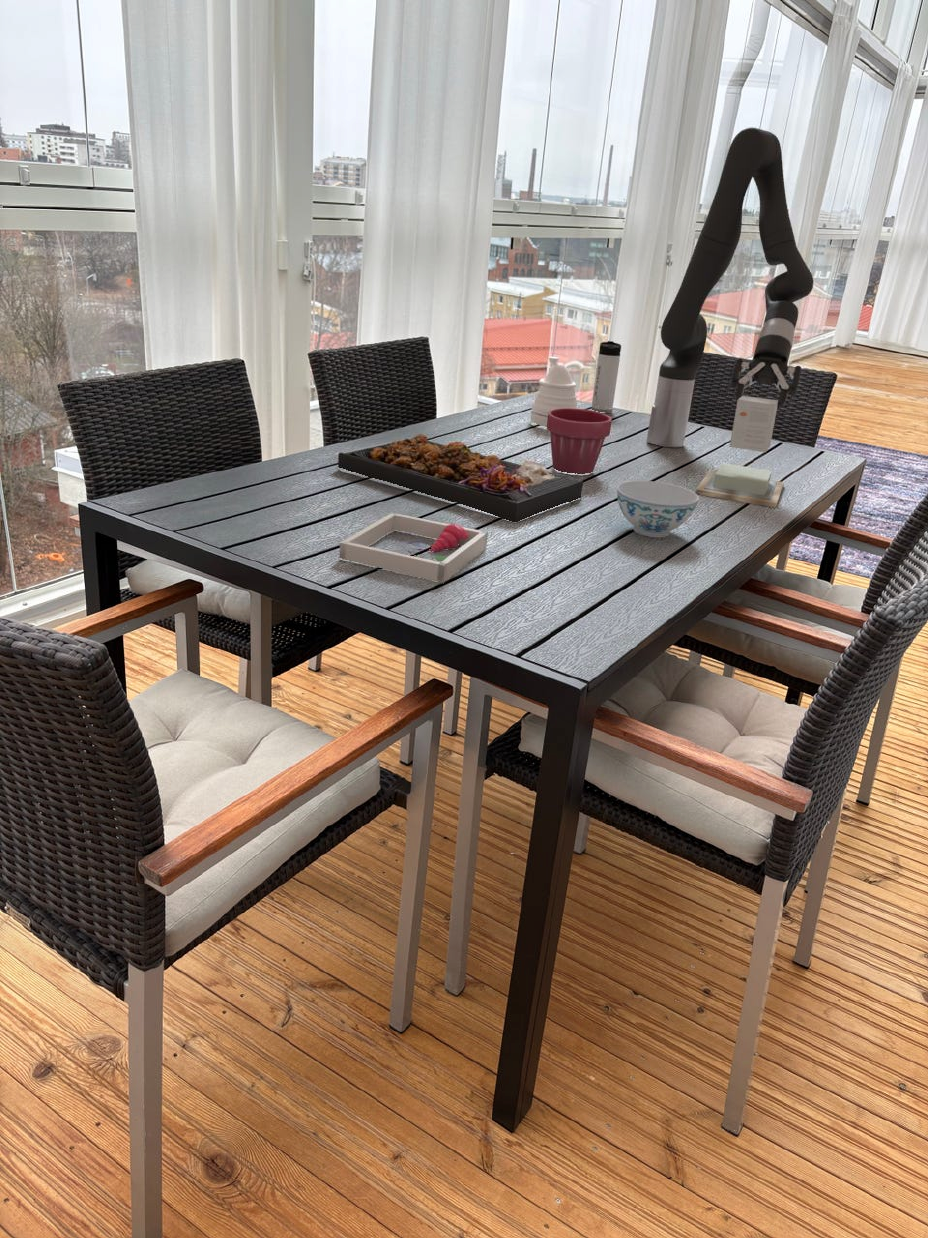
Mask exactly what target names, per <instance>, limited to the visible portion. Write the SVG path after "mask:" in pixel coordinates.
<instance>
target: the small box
mask: <svg viewBox="0 0 928 1238" xmlns="http://www.w3.org/2000/svg"><path fill="white" fill-rule="evenodd" d="M778 400H779V399H770V398H763V397H761V398H760V397H755V396H747V395H743V396H742V397H740V398H739V399H738V401H736V402H737V403H736V408H735V413H734V414H735V415H734V419H733V420H734V421H733V425H732V430H731V436H730V442H729V447H730V448H733V449H735V448H736V449H742V450H747V451H753V452H754V451H755V452H760V453H761V452H762V453H767V451H768V450H769V449H770V448H771V444H772V437H773V432H774V427H775V421H776V416H777V411H778V409H777V405H778Z"/></svg>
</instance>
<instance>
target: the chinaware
mask: <svg viewBox="0 0 928 1238" xmlns="http://www.w3.org/2000/svg"><path fill="white" fill-rule="evenodd" d="M616 496H617V500H618V505H619V508H620V511H621V513H622V514H623V516H624V517H625V519H626V520H627V521H628V522H629V523H630V525H632V526H633V527H632V528H633V531H634V532H635V533H637V534H639V535H641V536H643V537H649V538H665V537H668V536H669V535H670V532H671V531H673V530H675V529H678V528H679V527H680V526H682V525H684V523H686V521H688V519H689V518H690V517H691V516H692V514H693V513H694V511H695V509H696V507H697V506H698V503H699V498H700V497H699V494H696V493H695V492H694V491H693V490H690V489H688V488H685V487H683V486H679V485H676V484H671V483H667V482H662V481H661V482H660V481H651V480H630V481H624V482H622V483H619V484H618V486H617V487H616Z"/></svg>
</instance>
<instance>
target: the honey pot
mask: <svg viewBox="0 0 928 1238" xmlns="http://www.w3.org/2000/svg"><path fill="white" fill-rule="evenodd" d="M559 359H560V358H559V357H558V356H549V357H548V360H549V363H550V364H551V365H553V366H552V367H551V368H550V370H549V371H548V372H547V374H546V376H545V377H544V378H540V379H539V381H538V383H539V385H540V387H539V389H538V391H537V392H536V396H535V398H534V401H533V402H532V404H531V411H530V418H529V421H530V420H531V421H532V422H534V423H536V424H539V425H541V426H545V427H547V419H548V412H549V411H551V410H553V409H560V408H575V409H580V408H579V406H578V400H577V398H578V396H577V394H576V390H575V387H576V386H577V383H576V382H574V381H573V379H572V375H571V372H570V371H569V369H568V367H567V366H566V365H565V364H564V363H562V362H558V361H559Z"/></svg>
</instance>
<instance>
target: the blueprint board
mask: <svg viewBox="0 0 928 1238" xmlns="http://www.w3.org/2000/svg"><path fill="white" fill-rule="evenodd" d="M717 471H718V470H713V469H709V470H708V471H707V473H706V474H705V476H704V477H703V479H702V480H701V481H700V482H699V485H697V487H696V488H695V492H694V493H696V494H697V495H701V496H707V497H710V498H711V497H712V498H718V499H723V500H724V499H725V500H728V501H734V502H740V503H747V504H752V505H758V506H762V507H767V508H768V507H769V508H773V509H775V508H776V509H777V505H778V502H779V499H780V497H781V494H782V491H783V488H784V485H785V482H783V481H778V480H773V479H770V482H769V485H768V487H767V490H766V492H765V495H758V494H753V493H747V492H741V491H736V490H730V489H724V488H718V487H713V483H714V478H715V474H716V472H717Z"/></svg>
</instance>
